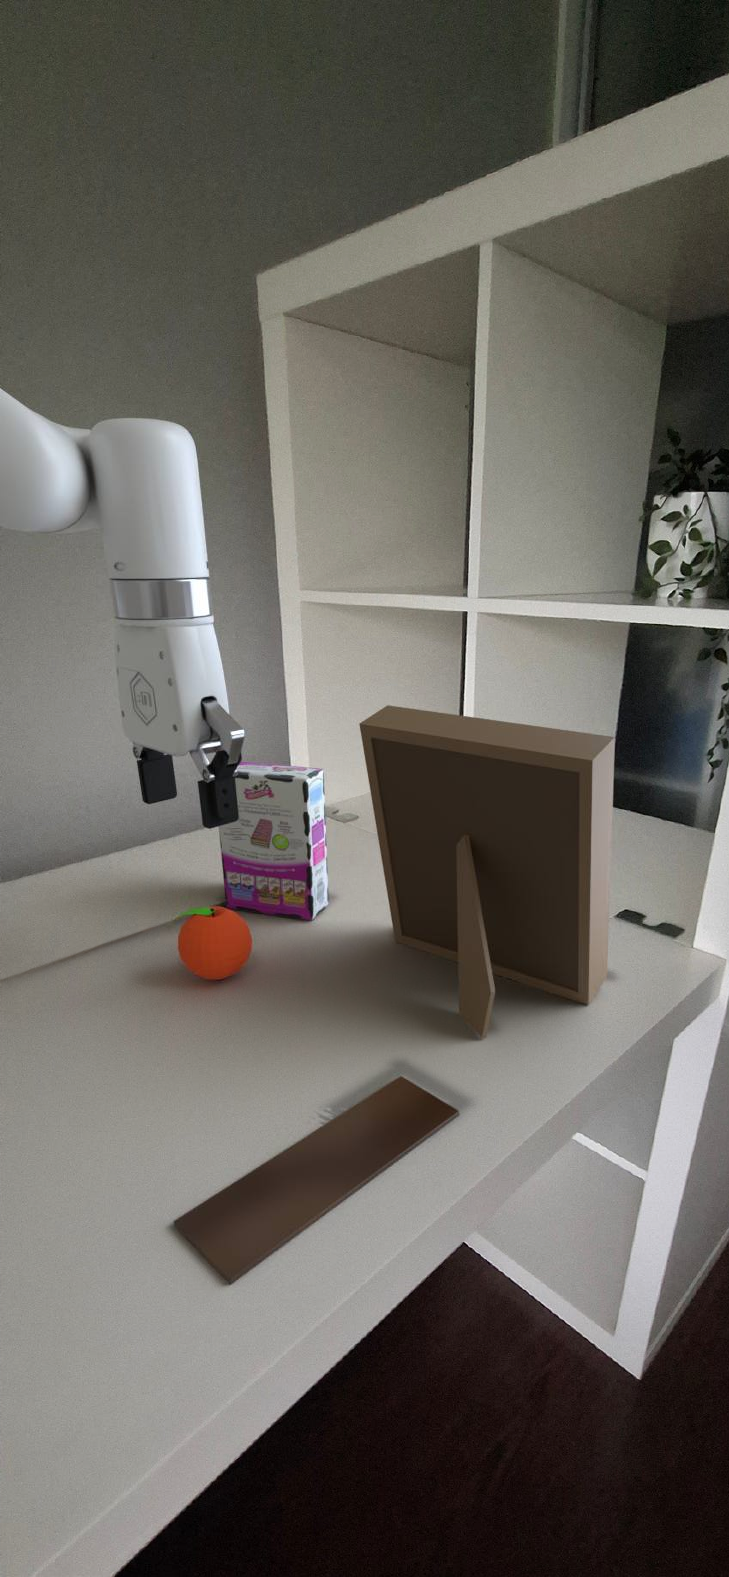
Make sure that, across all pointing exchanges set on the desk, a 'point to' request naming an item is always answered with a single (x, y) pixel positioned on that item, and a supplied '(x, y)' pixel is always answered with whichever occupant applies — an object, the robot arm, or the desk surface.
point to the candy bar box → (277, 842)
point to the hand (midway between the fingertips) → (189, 811)
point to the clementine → (214, 942)
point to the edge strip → (311, 1177)
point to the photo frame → (495, 848)
